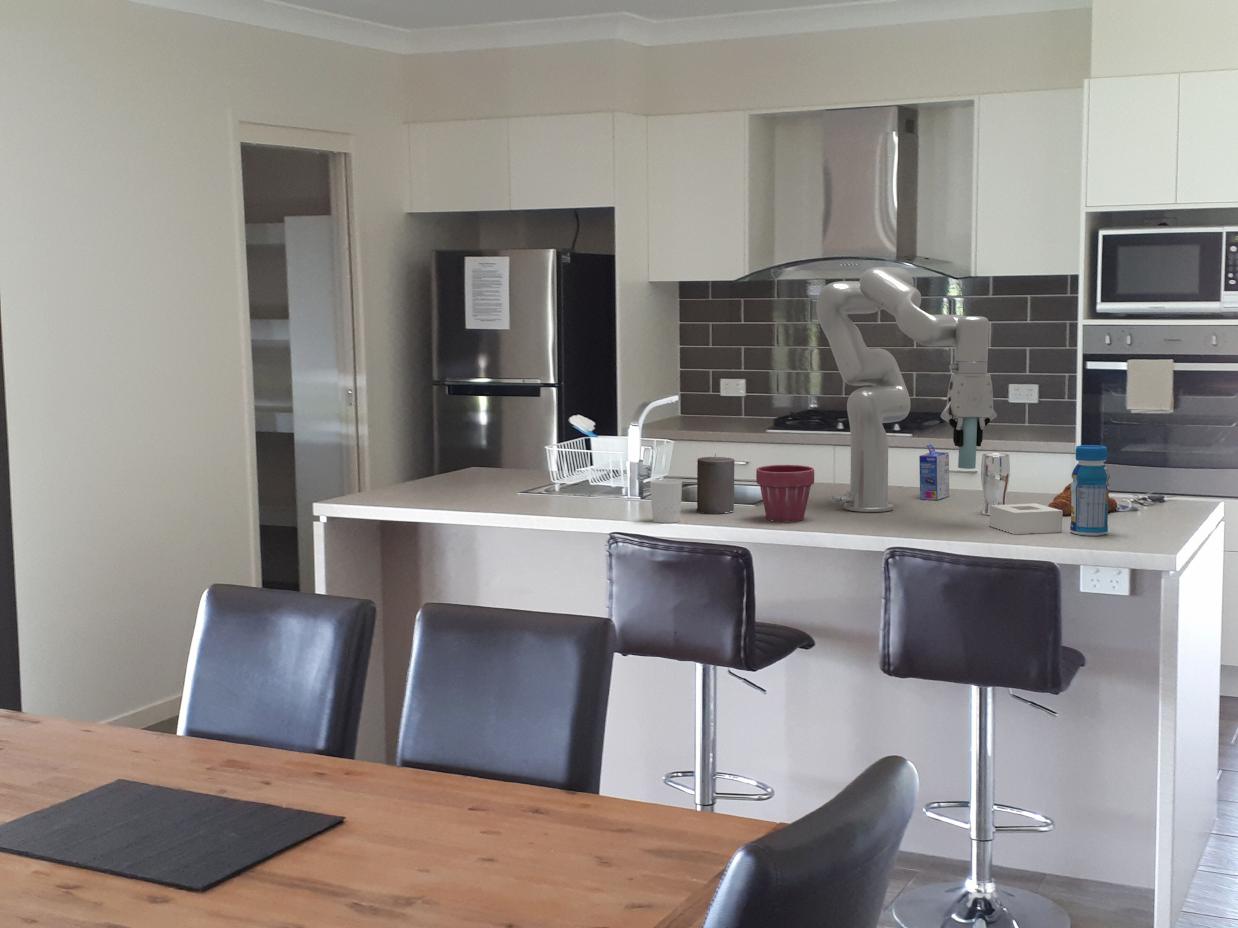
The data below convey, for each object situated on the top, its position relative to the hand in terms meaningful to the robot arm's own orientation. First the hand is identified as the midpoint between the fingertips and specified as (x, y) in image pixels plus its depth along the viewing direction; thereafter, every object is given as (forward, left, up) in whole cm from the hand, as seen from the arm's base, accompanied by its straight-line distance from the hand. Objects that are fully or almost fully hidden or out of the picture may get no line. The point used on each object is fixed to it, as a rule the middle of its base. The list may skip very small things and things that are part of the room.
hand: (967, 445), depth 317 cm
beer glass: (+14, +13, -19) cm, 27 cm away
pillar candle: (-52, +37, -19) cm, 66 cm away
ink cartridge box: (+12, +45, -19) cm, 50 cm away
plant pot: (-39, +20, -19) cm, 48 cm away
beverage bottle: (+21, -19, -19) cm, 34 cm away
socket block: (+10, -10, -19) cm, 24 cm away
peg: (0, 0, -5) cm, 5 cm away
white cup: (-68, +25, -19) cm, 75 cm away
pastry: (+37, +10, -20) cm, 43 cm away
